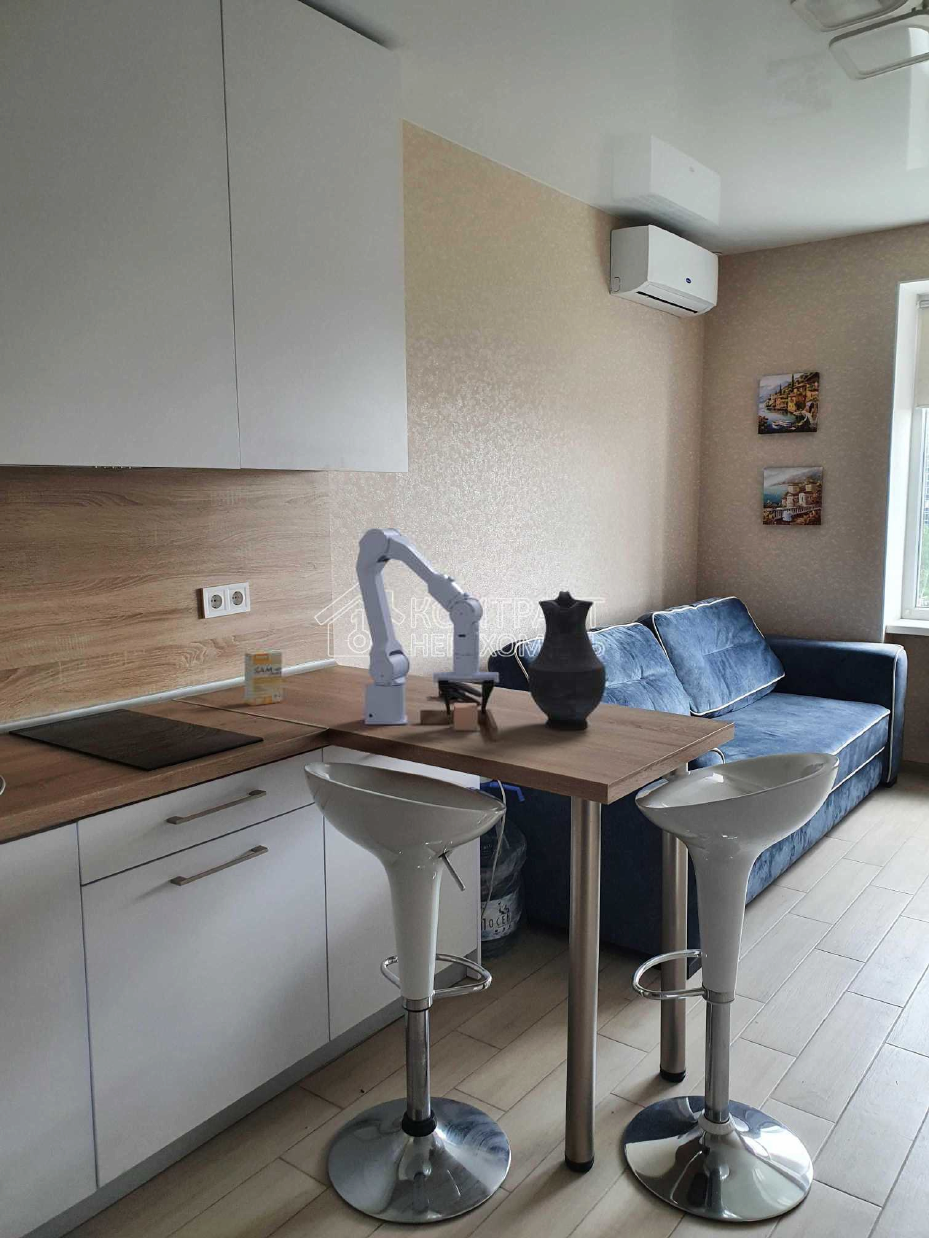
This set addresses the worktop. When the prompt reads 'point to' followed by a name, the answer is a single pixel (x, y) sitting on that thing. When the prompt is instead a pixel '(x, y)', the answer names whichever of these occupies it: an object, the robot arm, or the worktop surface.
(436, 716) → the arena
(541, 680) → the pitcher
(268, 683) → the supplement box
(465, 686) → the can opener
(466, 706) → the cube
